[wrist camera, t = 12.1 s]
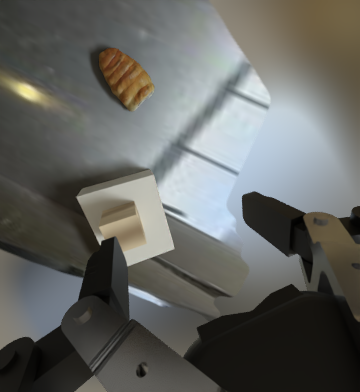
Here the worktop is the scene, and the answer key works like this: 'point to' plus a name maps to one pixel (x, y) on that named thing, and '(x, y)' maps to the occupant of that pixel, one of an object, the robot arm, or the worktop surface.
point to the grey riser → (146, 205)
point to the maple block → (123, 226)
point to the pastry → (125, 78)
